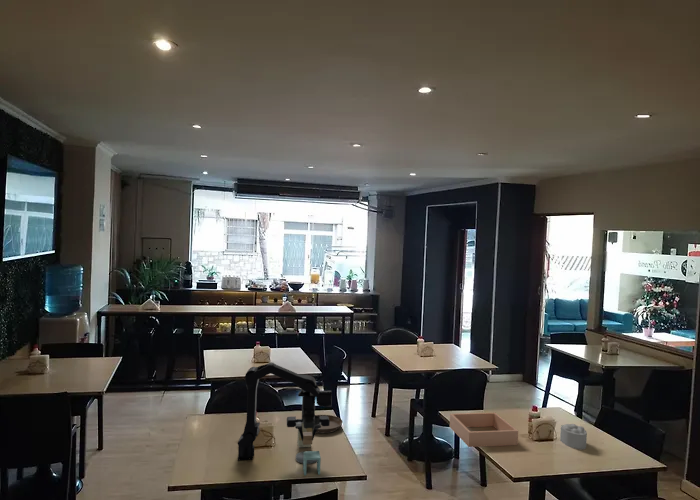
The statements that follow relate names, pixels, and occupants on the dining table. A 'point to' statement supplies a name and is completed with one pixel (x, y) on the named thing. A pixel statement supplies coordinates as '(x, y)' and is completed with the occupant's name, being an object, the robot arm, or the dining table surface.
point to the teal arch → (311, 456)
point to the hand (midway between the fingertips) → (307, 440)
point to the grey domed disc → (300, 458)
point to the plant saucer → (333, 425)
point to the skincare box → (299, 441)
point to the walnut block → (307, 438)
